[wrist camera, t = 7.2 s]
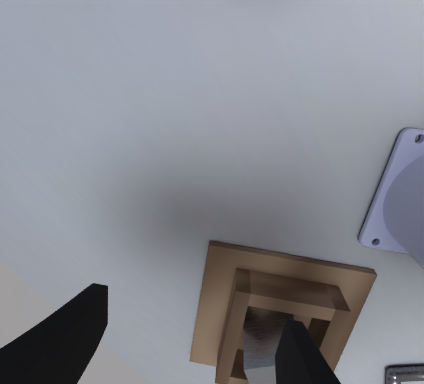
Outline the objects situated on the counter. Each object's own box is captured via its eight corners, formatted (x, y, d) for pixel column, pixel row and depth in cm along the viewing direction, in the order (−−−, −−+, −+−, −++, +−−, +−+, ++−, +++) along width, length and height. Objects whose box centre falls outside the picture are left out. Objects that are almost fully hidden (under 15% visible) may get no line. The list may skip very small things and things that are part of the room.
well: (373, 269, 20) (395, 300, 17) (324, 380, 25) (335, 419, 22) (209, 240, 21) (204, 266, 18) (190, 354, 25) (184, 390, 22)
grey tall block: (288, 293, 21) (303, 361, 16) (302, 342, 23) (320, 418, 18) (242, 302, 22) (243, 370, 17) (259, 348, 23) (265, 423, 18)
